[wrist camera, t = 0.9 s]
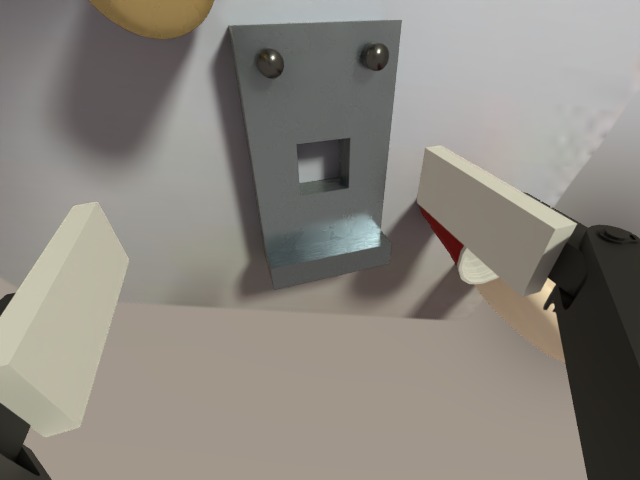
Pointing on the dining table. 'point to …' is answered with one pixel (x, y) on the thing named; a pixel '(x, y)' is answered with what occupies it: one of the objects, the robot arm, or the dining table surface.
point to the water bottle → (526, 314)
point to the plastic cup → (461, 255)
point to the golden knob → (155, 15)
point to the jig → (318, 140)
